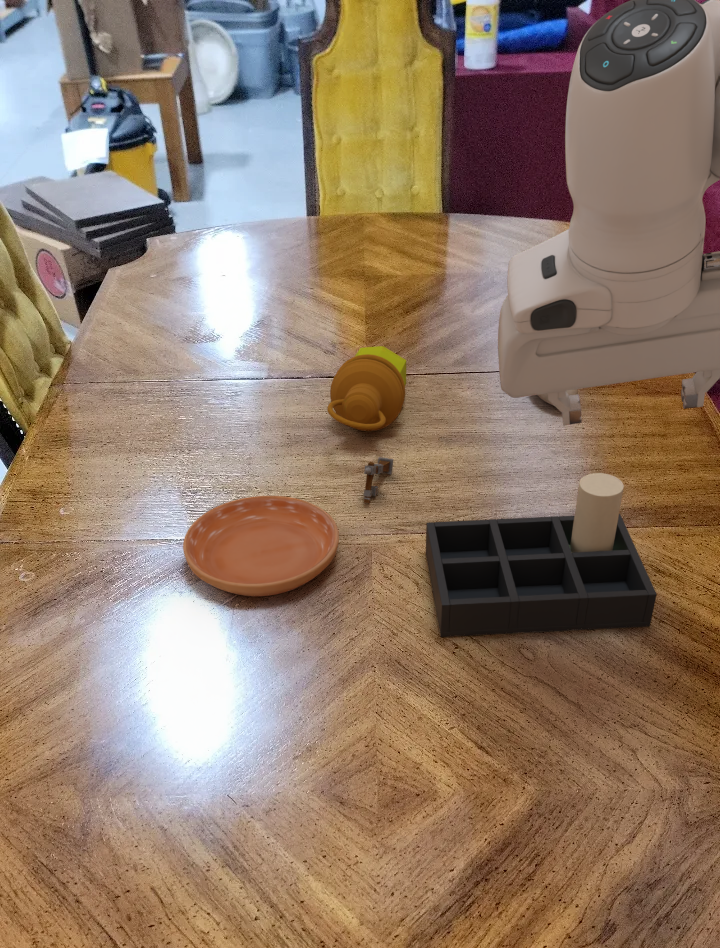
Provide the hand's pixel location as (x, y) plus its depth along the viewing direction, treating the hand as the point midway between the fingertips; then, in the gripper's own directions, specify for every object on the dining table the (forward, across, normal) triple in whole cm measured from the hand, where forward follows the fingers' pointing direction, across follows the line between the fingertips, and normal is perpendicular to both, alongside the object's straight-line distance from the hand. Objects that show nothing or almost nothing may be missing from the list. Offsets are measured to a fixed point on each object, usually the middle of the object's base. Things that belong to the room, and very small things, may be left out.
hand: (631, 410), depth 80 cm
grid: (+22, +9, +1) cm, 24 cm away
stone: (+35, +5, -39) cm, 52 cm away
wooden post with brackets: (+24, +26, -17) cm, 39 cm away
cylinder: (+23, +3, -3) cm, 24 cm away
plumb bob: (+29, +28, -32) cm, 51 cm away
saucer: (+18, +37, -4) cm, 41 cm away
